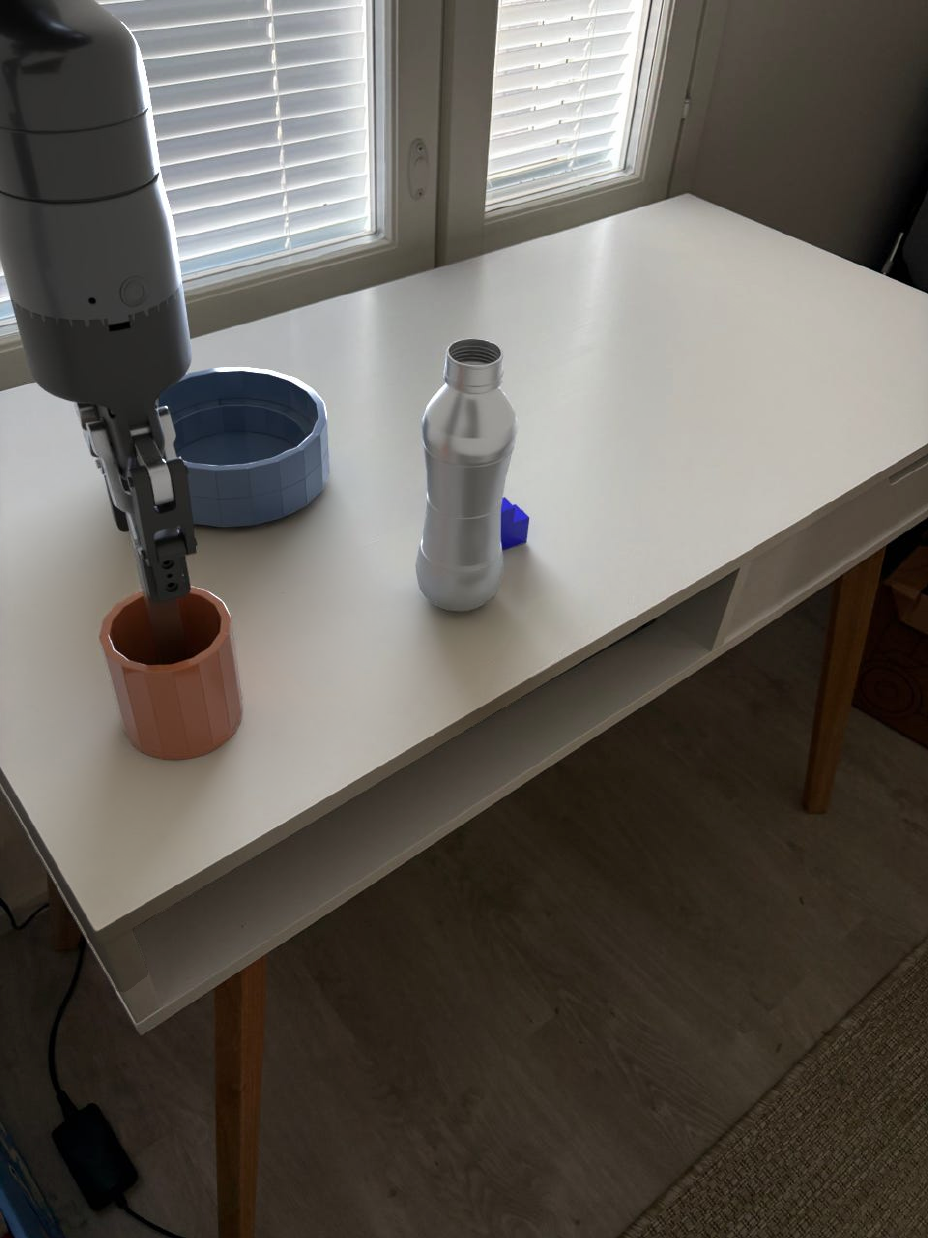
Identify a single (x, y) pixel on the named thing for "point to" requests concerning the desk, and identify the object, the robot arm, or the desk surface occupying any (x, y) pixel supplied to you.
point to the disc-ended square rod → (162, 621)
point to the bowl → (248, 444)
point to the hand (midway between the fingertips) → (152, 558)
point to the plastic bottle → (466, 478)
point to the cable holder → (513, 525)
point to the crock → (174, 677)
